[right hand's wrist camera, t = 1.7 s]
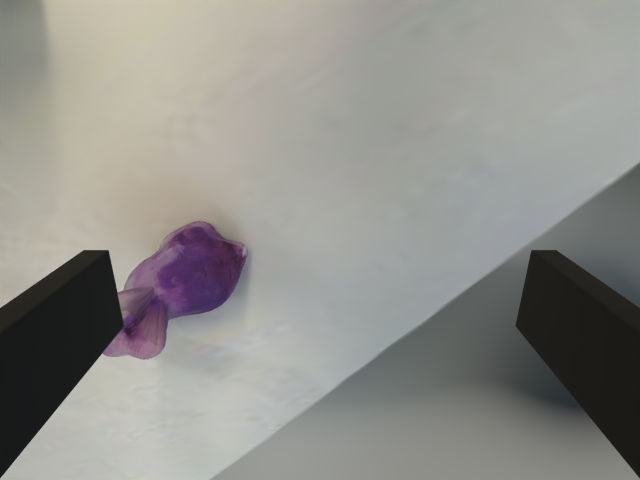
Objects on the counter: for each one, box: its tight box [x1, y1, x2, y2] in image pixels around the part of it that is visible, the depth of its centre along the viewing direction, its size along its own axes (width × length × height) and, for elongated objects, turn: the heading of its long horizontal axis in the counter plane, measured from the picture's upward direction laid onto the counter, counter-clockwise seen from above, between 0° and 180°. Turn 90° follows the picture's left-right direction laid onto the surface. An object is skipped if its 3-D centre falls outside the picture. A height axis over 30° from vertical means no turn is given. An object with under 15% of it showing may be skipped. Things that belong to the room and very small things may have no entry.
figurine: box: [102, 222, 247, 360], centre depth 34 cm, size 9×10×15 cm
